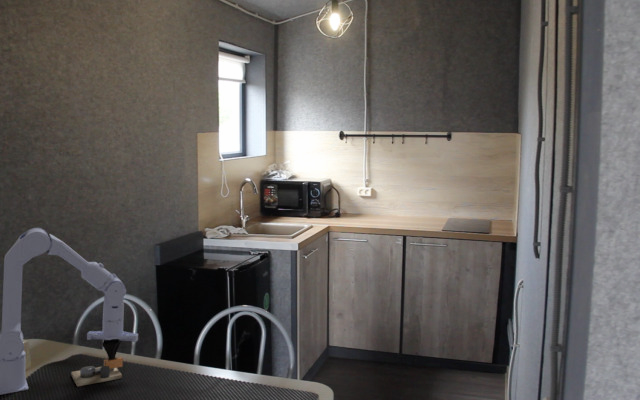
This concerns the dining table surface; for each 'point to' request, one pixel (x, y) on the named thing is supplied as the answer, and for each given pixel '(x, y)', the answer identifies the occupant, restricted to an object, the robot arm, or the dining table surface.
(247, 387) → the dining table surface
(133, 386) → the dining table surface
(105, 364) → the crank
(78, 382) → the board
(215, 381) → the dining table surface
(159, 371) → the dining table surface
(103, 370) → the post
